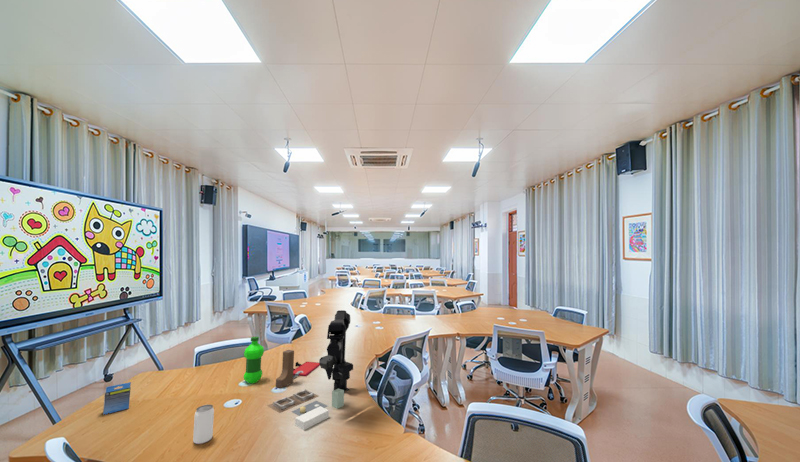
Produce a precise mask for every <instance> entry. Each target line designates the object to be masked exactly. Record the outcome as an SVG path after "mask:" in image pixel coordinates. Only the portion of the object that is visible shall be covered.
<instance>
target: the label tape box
mask: <svg viewBox="0 0 800 462" xmlns="http://www.w3.org/2000/svg"><path fill="white" fill-rule="evenodd" d="M131 383H132V381H131V382H130V381H129V382H125V383H119V384H115V385H109V386H106V387H105V392H104V398H103V409H102V412H103V413H102V414H103V415H104V414H105V415H108V413H109V414H112V413H116V412H119V411H123V410H128V409H130V402H131V401H130V398H131ZM118 387H119V388H118Z"/></svg>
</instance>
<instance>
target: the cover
mask: <svg viewBox="0 0 800 462" xmlns="http://www.w3.org/2000/svg"><path fill="white" fill-rule="evenodd" d="M329 411H330V410H328V409H327V408H326V407H325V408H323V407H321V406H320V407H318V408H315V409H313V410H311V411H309V412H307V413H305V414H303V415H300V416H298V415H297V417H295V419H294V420H295V421H294V426H296V427H298V428H299V429H300V430H303V431H305V430H307V429H309V428H311V427H313V426H315V425H317V424H318V423H321V422H322V421H325V420H326V419H329V417H330V412H329Z"/></svg>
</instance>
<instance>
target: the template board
mask: <svg viewBox="0 0 800 462" xmlns="http://www.w3.org/2000/svg"><path fill="white" fill-rule="evenodd" d="M320 406H321V407H323V408H325V409H326V408H327V407H328V405H327V404H324V403H322V402H320V401H318V400H315V401H312V402H310V403H308V404H305V405H303V406H300V407H299V408H295V409H294V410H292V411H291V413H293V414H295V415H296V416H297V417H298V416H300V415H303V414H305V413H307V412H309V411H311V410H313V409H315V408H318V407H320Z"/></svg>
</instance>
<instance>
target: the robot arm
mask: <svg viewBox="0 0 800 462" xmlns="http://www.w3.org/2000/svg"><path fill="white" fill-rule="evenodd" d="M350 324H351V315H350V313H348V312H347V310H342V309H341V310H337V311H336V313H335V314H334V320H331V321H330V323H329V324H328V327H327V328H328V329H327V335H326V340H327V339H328V340H330V341H329V343H328V345H327V347H326V352H327V355H325V356H322V357H320V358H319V362H318V363H319V364H320V366H319V367H320V368H321V369H324V371H325V373H326V376H327V379H328V380H331V379H332V380H331V381H334V382H333V390H336V389H338V388H339V389H342V390H344V393H345V392H346V391H349V390H350V389H349V388H348V380H349V379H351V373H350V372H351V371H353V370H354V364H353V363H352V362H349V361H346V359H345V358H346V342H347V341H346V339H347V338H346V337H347V331H348V329H349V327H350Z"/></svg>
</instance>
